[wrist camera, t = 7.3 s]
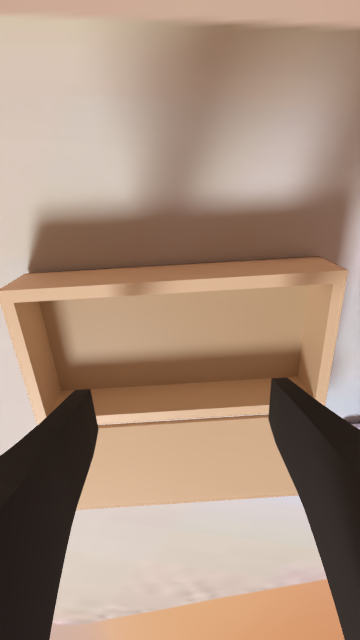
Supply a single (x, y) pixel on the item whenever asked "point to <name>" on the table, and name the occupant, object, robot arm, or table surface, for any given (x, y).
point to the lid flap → (185, 463)
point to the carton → (175, 336)
